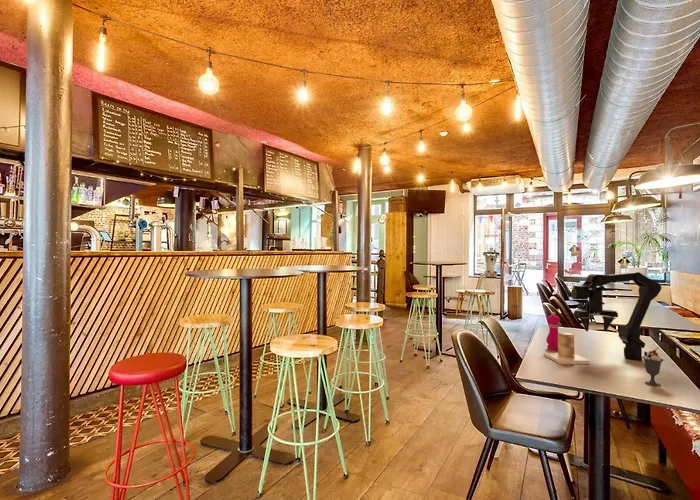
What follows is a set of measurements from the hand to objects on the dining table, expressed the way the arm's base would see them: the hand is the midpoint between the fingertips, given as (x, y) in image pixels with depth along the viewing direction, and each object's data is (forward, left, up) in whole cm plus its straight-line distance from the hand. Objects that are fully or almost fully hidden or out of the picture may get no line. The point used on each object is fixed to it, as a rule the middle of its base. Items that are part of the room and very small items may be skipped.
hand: (595, 331), depth 182 cm
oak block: (+12, +12, -12) cm, 20 cm away
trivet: (+12, +12, -13) cm, 21 cm away
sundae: (-19, +32, -13) cm, 39 cm away
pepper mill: (+19, -6, -13) cm, 24 cm away
